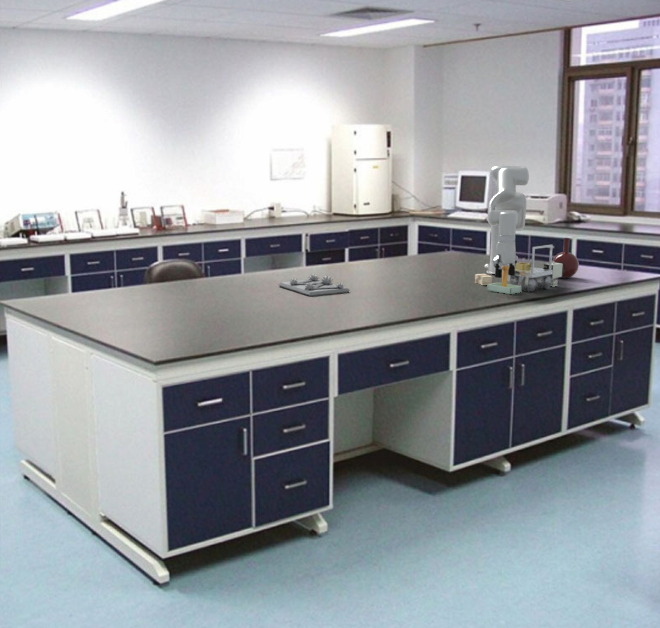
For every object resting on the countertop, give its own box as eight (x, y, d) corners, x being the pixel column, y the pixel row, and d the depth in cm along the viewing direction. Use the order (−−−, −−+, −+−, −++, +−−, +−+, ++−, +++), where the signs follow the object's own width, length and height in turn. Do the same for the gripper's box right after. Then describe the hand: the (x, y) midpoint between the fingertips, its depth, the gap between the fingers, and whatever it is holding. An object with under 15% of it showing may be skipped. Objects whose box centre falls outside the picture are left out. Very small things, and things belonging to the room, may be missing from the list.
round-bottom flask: (583, 279, 441) (586, 239, 437) (564, 281, 435) (567, 240, 430) (564, 275, 452) (566, 236, 448) (545, 277, 446) (547, 237, 442)
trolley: (501, 288, 414) (504, 243, 409) (522, 284, 424) (524, 241, 420) (532, 293, 401) (534, 247, 397) (552, 289, 412) (555, 244, 408)
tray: (486, 290, 406) (487, 284, 406) (497, 288, 412) (498, 282, 411) (510, 294, 397) (510, 288, 396) (521, 292, 402) (521, 286, 402)
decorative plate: (277, 287, 413) (277, 272, 412) (316, 283, 424) (316, 269, 423) (310, 297, 388) (310, 282, 387) (350, 293, 399) (351, 278, 398)
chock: (474, 283, 427) (475, 274, 426) (484, 282, 428) (484, 273, 427) (482, 286, 419) (482, 276, 419) (491, 285, 421) (492, 276, 420)
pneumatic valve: (563, 285, 421) (565, 261, 418) (549, 288, 413) (550, 263, 411) (553, 284, 425) (555, 259, 422) (539, 287, 417) (540, 261, 415)
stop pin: (498, 290, 404) (500, 266, 402) (503, 289, 406) (504, 265, 404) (504, 291, 402) (506, 267, 400) (509, 290, 404) (510, 266, 402)
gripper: (511, 236, 408) (509, 273, 411) (488, 239, 396) (486, 277, 400) (524, 238, 402) (522, 275, 406) (501, 241, 391) (499, 279, 394)
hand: (504, 276), depth 403 cm, fingers open, 9 cm apart
